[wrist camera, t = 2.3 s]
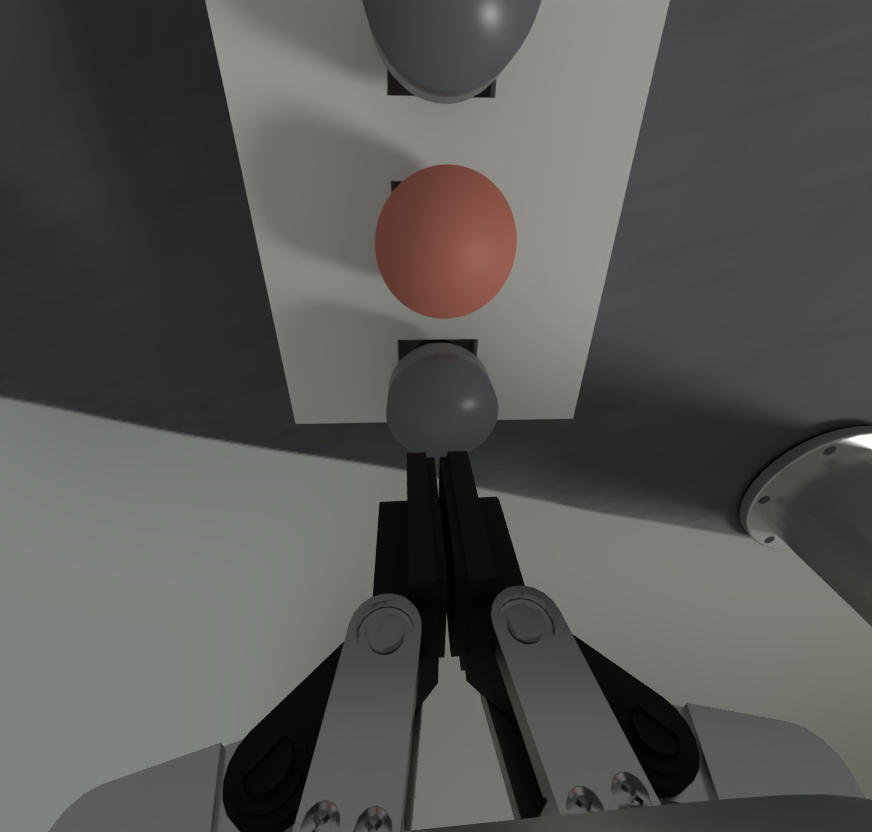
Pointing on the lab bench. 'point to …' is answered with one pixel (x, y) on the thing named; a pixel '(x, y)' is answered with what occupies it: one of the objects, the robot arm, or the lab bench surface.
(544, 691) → the robot arm
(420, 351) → the grey knob
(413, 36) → the grey knob
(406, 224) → the red knob
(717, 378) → the lab bench surface
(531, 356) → the control box
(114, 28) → the lab bench surface
